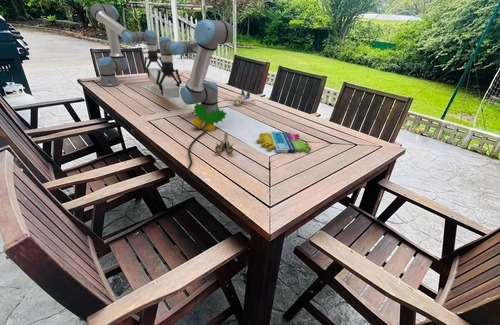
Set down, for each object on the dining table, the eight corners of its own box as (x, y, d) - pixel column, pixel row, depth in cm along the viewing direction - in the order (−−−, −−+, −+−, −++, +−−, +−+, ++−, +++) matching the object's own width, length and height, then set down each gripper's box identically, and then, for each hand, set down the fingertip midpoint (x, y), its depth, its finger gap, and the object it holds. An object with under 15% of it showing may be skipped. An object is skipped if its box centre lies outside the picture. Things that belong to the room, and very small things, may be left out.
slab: (179, 97, 187) (179, 87, 183) (165, 98, 182) (164, 88, 179) (159, 75, 242) (158, 68, 238) (147, 76, 237) (146, 68, 234)
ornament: (218, 133, 171) (224, 110, 169) (221, 134, 163) (227, 111, 161) (186, 125, 162) (192, 101, 160) (189, 126, 155) (195, 101, 153)
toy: (261, 91, 228) (254, 99, 202) (261, 99, 231) (253, 108, 205) (231, 87, 233) (220, 95, 207) (230, 95, 236) (219, 104, 210)
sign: (313, 150, 142) (258, 149, 139) (312, 153, 143) (258, 152, 140) (301, 132, 164) (254, 130, 161) (301, 134, 165) (254, 133, 162)
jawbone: (234, 135, 144) (233, 125, 135) (233, 160, 138) (232, 151, 129) (217, 135, 144) (216, 125, 135) (216, 160, 138) (214, 150, 129)
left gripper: (165, 49, 230) (167, 75, 241) (137, 49, 221) (141, 76, 232) (166, 51, 225) (169, 77, 235) (138, 50, 215) (142, 78, 226)
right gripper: (182, 60, 187) (184, 91, 198) (148, 61, 177) (152, 93, 187) (185, 62, 181) (187, 94, 192) (150, 62, 171) (154, 96, 182)
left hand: (155, 77), depth 233 cm, fingers closed on slab, 10 cm apart
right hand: (170, 93), depth 190 cm, fingers closed on slab, 10 cm apart
